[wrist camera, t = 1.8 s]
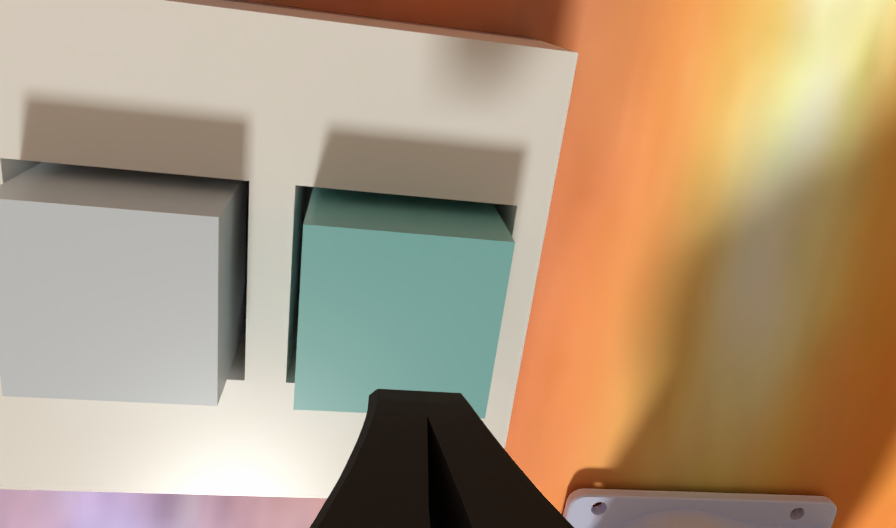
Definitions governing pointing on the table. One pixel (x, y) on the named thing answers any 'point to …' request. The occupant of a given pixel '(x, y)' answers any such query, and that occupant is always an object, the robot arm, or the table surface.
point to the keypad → (268, 199)
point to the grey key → (120, 284)
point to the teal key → (398, 298)
